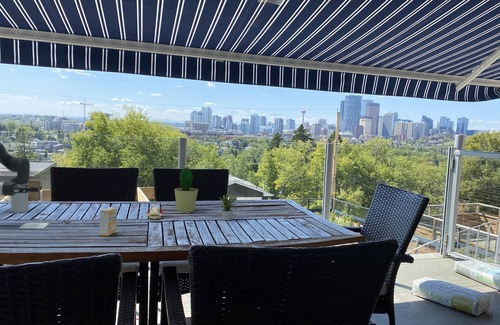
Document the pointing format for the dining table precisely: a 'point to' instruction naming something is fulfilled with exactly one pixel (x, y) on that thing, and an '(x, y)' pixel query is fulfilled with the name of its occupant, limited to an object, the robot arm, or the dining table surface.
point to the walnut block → (34, 195)
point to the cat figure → (154, 212)
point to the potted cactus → (185, 193)
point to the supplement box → (108, 221)
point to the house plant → (227, 207)
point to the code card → (34, 225)
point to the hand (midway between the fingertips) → (39, 189)
